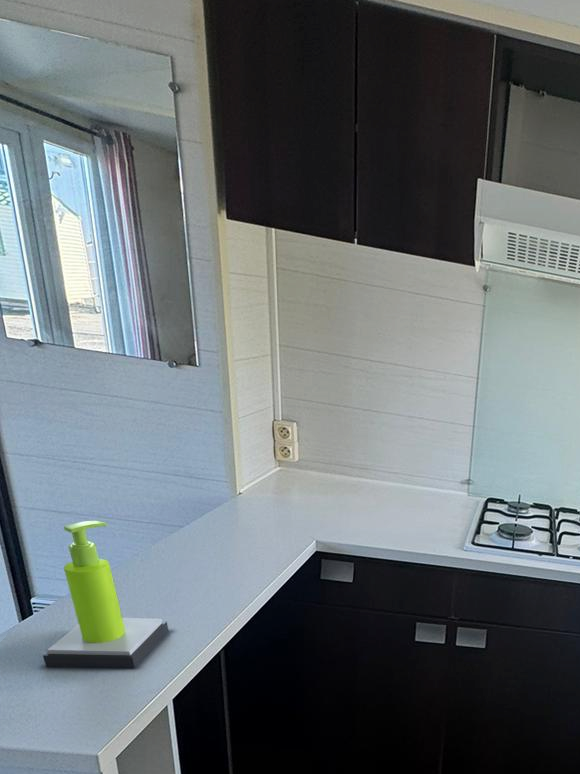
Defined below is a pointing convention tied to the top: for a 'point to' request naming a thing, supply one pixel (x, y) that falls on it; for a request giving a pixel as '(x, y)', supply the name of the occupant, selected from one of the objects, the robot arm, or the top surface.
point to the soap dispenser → (92, 588)
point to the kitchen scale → (108, 646)
